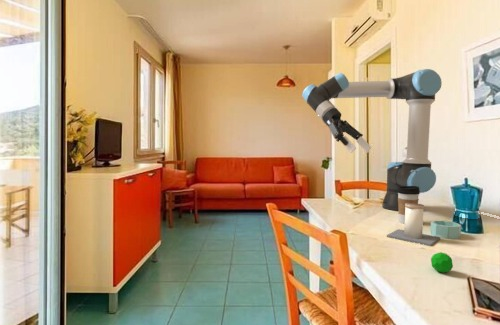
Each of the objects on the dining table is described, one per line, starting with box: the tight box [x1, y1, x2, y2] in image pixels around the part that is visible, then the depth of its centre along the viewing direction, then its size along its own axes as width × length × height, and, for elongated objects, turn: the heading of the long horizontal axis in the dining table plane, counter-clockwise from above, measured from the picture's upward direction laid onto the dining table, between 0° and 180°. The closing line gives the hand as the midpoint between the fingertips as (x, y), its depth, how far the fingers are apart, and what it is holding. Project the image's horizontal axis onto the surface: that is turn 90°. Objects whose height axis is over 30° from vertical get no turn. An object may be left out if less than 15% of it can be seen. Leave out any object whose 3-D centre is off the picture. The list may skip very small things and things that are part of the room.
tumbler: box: [403, 203, 425, 238], centre depth 113 cm, size 6×6×11 cm
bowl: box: [429, 219, 462, 240], centre depth 117 cm, size 9×9×4 cm
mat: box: [386, 228, 441, 247], centre depth 114 cm, size 11×14×1 cm
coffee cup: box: [397, 186, 421, 225], centre depth 135 cm, size 8×8×15 cm
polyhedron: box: [430, 252, 454, 274], centre depth 85 cm, size 5×5×5 cm
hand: (361, 150), depth 130 cm, fingers open, 13 cm apart
